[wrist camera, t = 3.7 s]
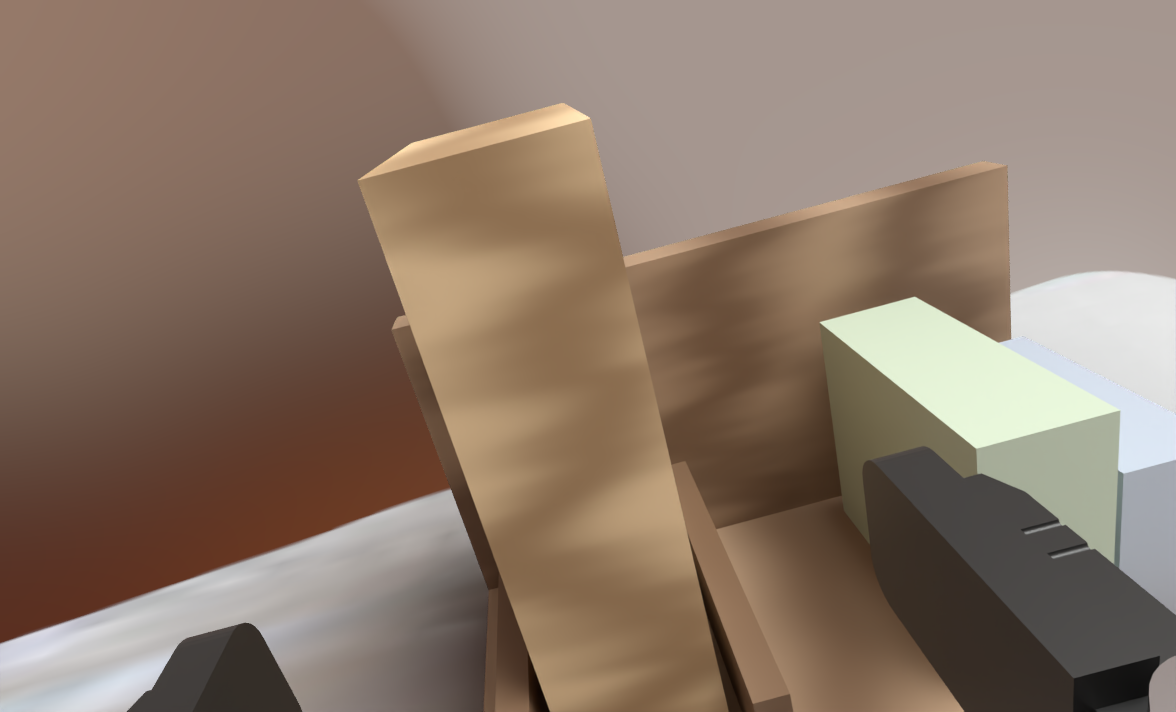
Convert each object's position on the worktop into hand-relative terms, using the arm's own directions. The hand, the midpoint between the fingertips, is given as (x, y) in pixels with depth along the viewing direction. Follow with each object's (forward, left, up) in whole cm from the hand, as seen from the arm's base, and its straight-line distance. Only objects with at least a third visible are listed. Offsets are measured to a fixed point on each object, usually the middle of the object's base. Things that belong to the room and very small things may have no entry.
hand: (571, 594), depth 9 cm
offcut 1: (+10, +9, -10) cm, 16 cm away
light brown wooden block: (0, +8, -10) cm, 13 cm away
